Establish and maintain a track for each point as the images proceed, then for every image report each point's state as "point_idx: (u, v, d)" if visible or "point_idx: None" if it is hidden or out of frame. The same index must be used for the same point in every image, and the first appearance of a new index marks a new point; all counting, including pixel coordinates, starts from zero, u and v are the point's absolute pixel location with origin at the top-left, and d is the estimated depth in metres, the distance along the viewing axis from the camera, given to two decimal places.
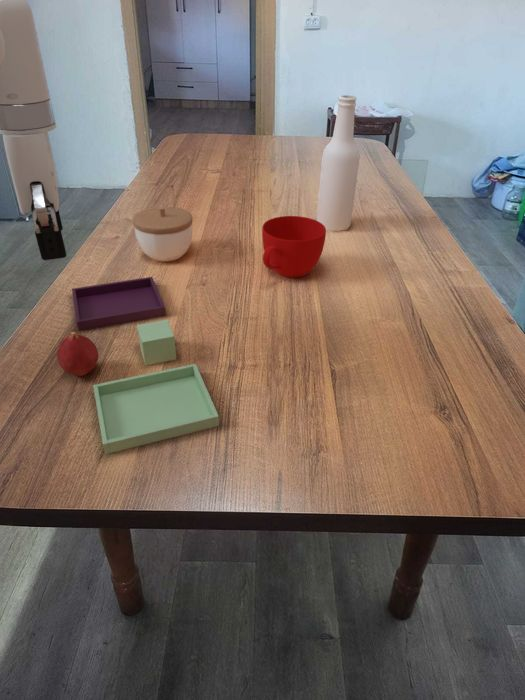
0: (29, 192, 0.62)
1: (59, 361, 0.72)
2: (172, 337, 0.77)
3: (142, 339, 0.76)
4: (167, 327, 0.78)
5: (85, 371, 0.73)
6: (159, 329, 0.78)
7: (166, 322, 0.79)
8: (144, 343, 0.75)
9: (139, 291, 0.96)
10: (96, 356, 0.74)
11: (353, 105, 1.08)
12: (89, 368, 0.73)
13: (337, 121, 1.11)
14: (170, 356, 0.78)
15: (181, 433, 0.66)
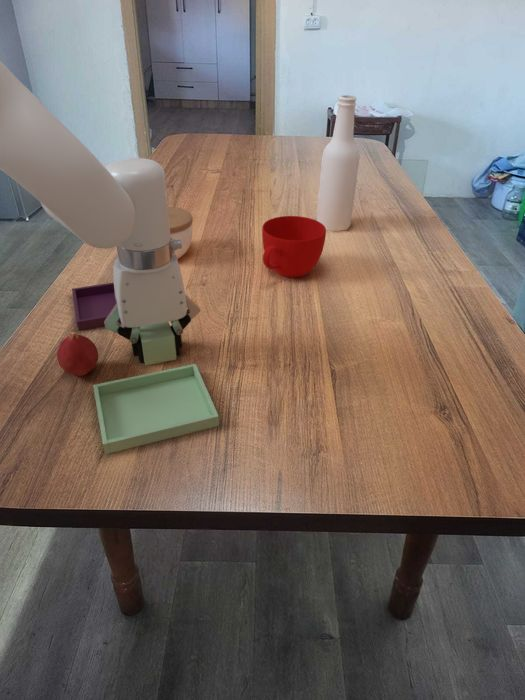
0: None
1: (59, 361, 0.72)
2: (172, 337, 0.77)
3: (142, 339, 0.76)
4: (167, 327, 0.78)
5: (85, 371, 0.73)
6: (159, 329, 0.78)
7: (166, 322, 0.79)
8: (144, 343, 0.75)
9: None
10: (96, 356, 0.74)
11: (353, 105, 1.08)
12: (89, 368, 0.73)
13: (337, 121, 1.11)
14: (170, 356, 0.78)
15: (181, 433, 0.66)
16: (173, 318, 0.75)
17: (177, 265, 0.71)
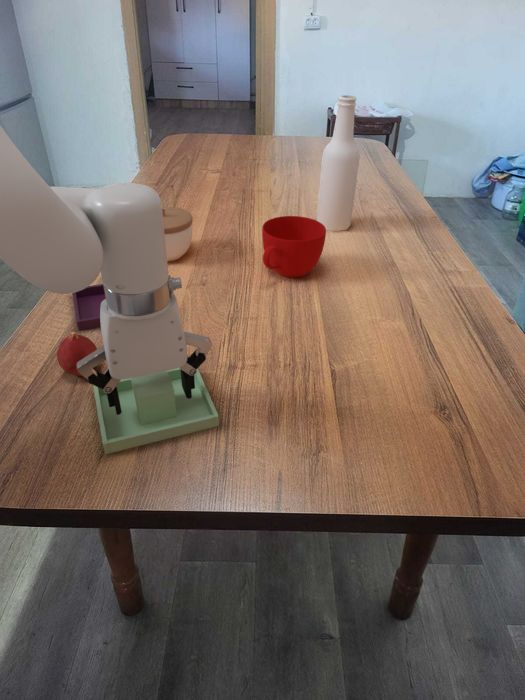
0: None
1: (59, 361, 0.72)
2: (171, 391, 0.66)
3: (136, 394, 0.65)
4: (166, 378, 0.67)
5: None
6: (156, 381, 0.67)
7: (165, 371, 0.69)
8: (139, 399, 0.64)
9: None
10: None
11: (353, 105, 1.08)
12: None
13: (337, 121, 1.11)
14: (169, 411, 0.68)
15: (181, 433, 0.66)
16: (171, 367, 0.64)
17: (176, 308, 0.60)
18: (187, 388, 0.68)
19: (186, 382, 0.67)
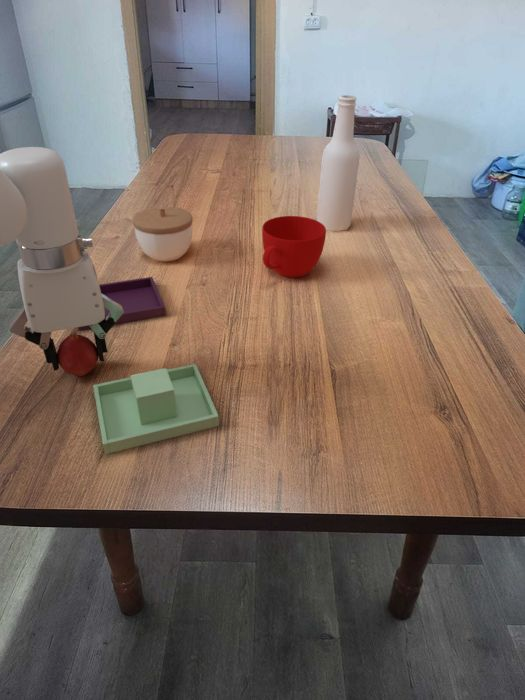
0: None
1: (59, 361, 0.72)
2: (171, 391, 0.66)
3: (136, 394, 0.65)
4: (166, 378, 0.67)
5: (85, 371, 0.73)
6: (156, 381, 0.67)
7: (165, 371, 0.69)
8: (139, 399, 0.64)
9: (139, 291, 0.96)
10: (96, 356, 0.74)
11: (353, 105, 1.08)
12: (89, 368, 0.73)
13: (337, 121, 1.11)
14: (169, 411, 0.68)
15: (181, 433, 0.66)
16: (89, 322, 0.69)
17: (88, 265, 0.65)
18: (98, 351, 0.73)
19: (97, 345, 0.72)
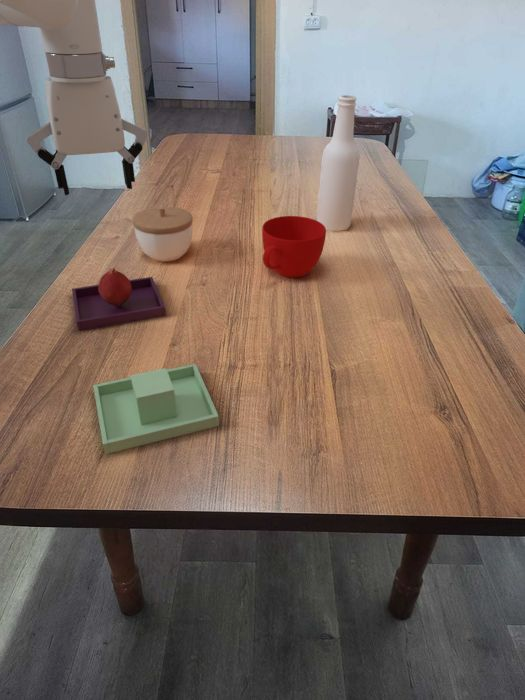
0: None
1: (100, 292, 0.88)
2: (171, 391, 0.66)
3: (136, 394, 0.65)
4: (166, 378, 0.67)
5: (121, 301, 0.89)
6: (156, 381, 0.67)
7: (165, 371, 0.69)
8: (139, 399, 0.64)
9: (139, 291, 0.96)
10: (130, 289, 0.89)
11: (353, 105, 1.08)
12: (125, 298, 0.89)
13: (337, 121, 1.11)
14: (169, 411, 0.68)
15: (181, 433, 0.66)
16: (110, 148, 0.74)
17: (110, 84, 0.70)
18: (127, 176, 0.78)
19: (126, 169, 0.77)
